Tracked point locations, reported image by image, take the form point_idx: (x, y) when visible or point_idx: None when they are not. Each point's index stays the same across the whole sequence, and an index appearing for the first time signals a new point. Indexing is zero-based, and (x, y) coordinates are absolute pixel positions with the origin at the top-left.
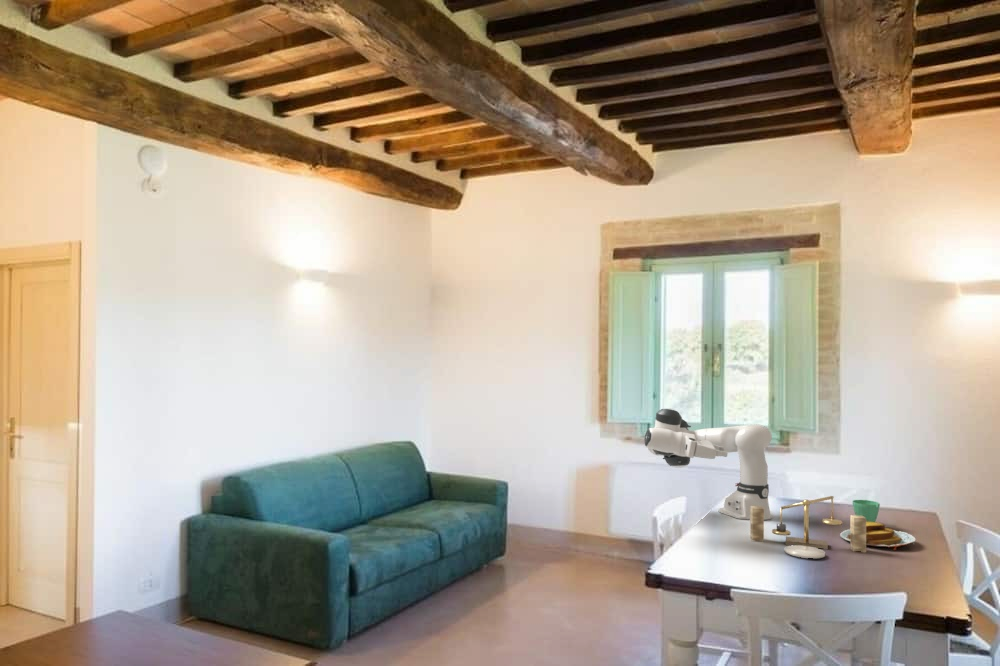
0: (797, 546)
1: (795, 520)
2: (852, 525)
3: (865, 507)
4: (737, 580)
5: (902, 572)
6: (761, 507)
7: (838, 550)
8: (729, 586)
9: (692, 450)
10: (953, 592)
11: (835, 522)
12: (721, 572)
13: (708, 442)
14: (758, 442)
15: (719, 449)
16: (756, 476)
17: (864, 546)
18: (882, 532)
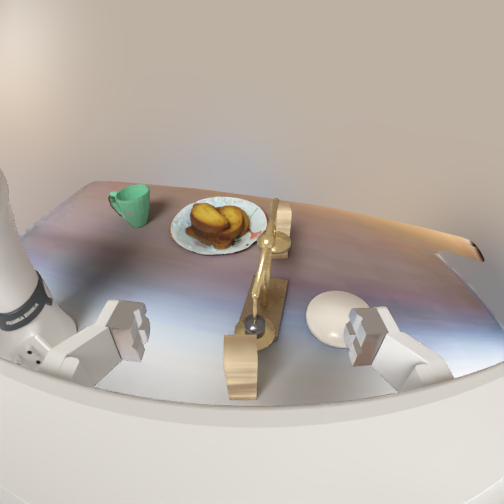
0: (316, 323)
1: (86, 285)
2: (282, 226)
3: (146, 197)
4: None
5: (367, 238)
6: (237, 337)
7: (286, 273)
8: None
9: None
10: (409, 224)
11: (288, 238)
12: None
13: (71, 426)
14: (7, 184)
15: (133, 345)
16: (24, 273)
17: None
18: (230, 212)
